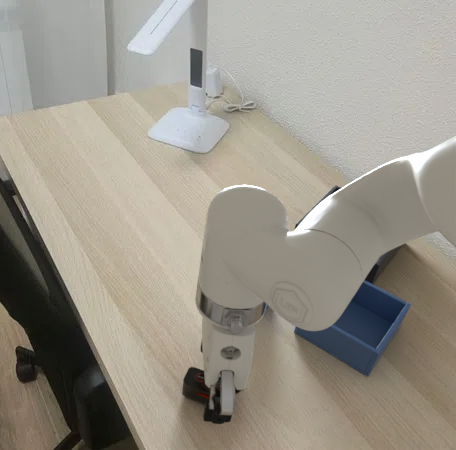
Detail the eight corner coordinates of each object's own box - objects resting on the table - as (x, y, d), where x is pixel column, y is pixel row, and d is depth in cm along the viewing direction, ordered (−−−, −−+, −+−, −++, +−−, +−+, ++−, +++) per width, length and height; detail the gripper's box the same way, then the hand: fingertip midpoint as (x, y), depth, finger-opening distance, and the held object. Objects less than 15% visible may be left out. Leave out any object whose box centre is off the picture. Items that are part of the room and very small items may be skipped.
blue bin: (400, 326, 80) (411, 304, 77) (367, 377, 73) (378, 354, 70) (329, 288, 85) (337, 265, 82) (293, 332, 79) (300, 309, 75)
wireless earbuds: (233, 418, 68) (236, 404, 66) (180, 396, 70) (181, 382, 68) (244, 388, 71) (248, 374, 69) (193, 368, 74) (195, 354, 71)
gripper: (279, 365, 52) (251, 451, 63) (258, 239, 64) (238, 330, 76) (199, 361, 51) (185, 449, 63) (194, 236, 64) (183, 327, 76)
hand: (214, 383), depth 69 cm, fingers open, 9 cm apart
